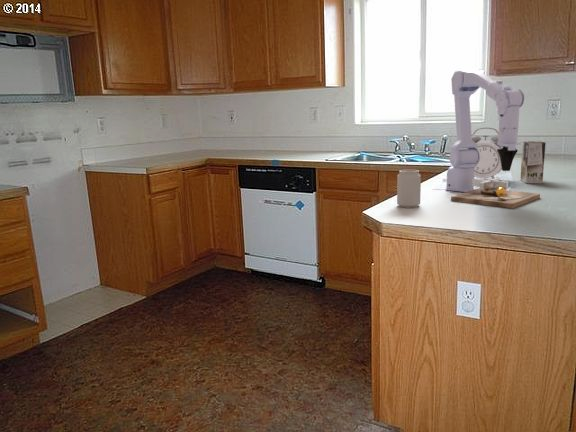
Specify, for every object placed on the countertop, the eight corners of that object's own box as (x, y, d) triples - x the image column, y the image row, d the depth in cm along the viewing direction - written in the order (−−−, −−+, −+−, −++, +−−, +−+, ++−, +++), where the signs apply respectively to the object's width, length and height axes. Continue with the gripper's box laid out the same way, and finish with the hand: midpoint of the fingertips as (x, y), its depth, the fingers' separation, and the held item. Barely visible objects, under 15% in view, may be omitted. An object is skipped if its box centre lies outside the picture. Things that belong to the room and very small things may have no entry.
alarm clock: (461, 181, 206) (463, 128, 201) (465, 178, 213) (467, 127, 208) (503, 182, 198) (506, 127, 193) (505, 179, 205) (508, 126, 200)
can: (421, 204, 164) (421, 168, 161) (419, 208, 157) (420, 171, 154) (398, 203, 166) (398, 168, 164) (395, 208, 159) (396, 171, 157)
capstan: (461, 194, 168) (461, 182, 167) (481, 188, 177) (481, 176, 176) (503, 199, 157) (504, 186, 156) (522, 192, 167) (522, 180, 166)
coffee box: (543, 183, 192) (546, 142, 188) (525, 183, 193) (528, 142, 190) (536, 180, 201) (539, 140, 197) (519, 180, 202) (522, 141, 198)
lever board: (450, 200, 167) (451, 195, 166) (480, 191, 180) (480, 187, 180) (512, 208, 152) (512, 203, 151) (539, 198, 165) (540, 193, 165)
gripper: (527, 129, 149) (524, 173, 152) (516, 127, 162) (514, 167, 165) (502, 130, 150) (500, 173, 153) (494, 127, 164) (492, 167, 167)
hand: (505, 170), depth 159 cm, fingers closed
